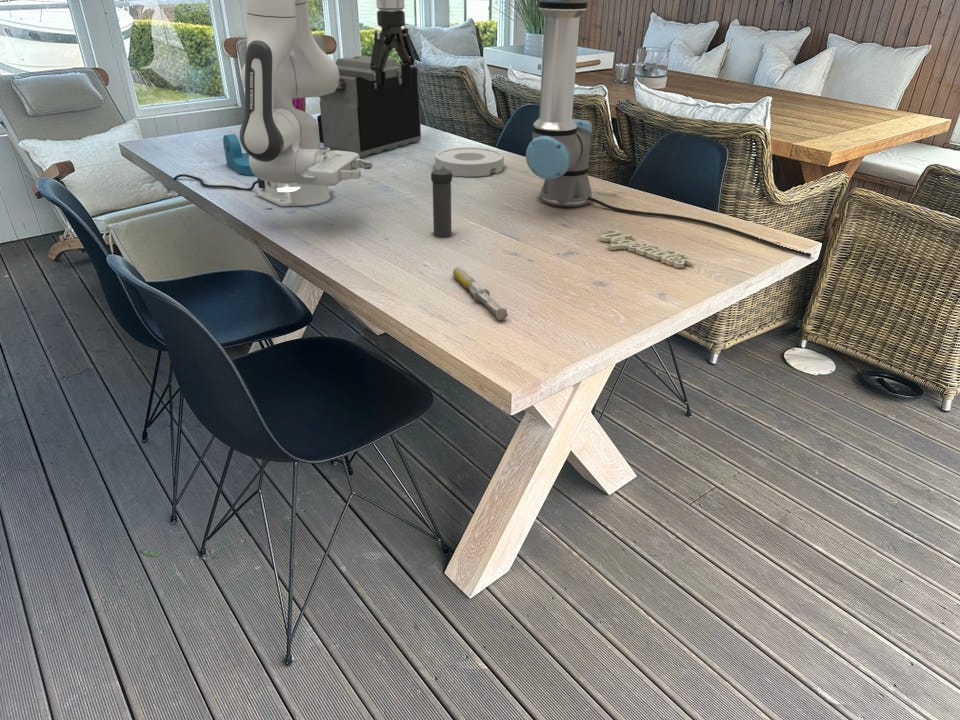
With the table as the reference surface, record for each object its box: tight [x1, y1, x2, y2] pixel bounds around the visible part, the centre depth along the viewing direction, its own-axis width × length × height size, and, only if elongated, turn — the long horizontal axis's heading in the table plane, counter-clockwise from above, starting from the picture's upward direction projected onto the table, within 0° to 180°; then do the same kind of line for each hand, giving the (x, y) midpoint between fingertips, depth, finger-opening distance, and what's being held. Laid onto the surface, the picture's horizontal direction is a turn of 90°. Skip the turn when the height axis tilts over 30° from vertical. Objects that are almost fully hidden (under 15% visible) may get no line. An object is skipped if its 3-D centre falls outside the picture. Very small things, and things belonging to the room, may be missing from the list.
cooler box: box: [316, 55, 422, 159], centre depth 250 cm, size 37×22×30 cm, turn 144°
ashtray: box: [434, 146, 505, 178], centre depth 232 cm, size 23×23×4 cm
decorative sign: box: [600, 229, 691, 269], centre depth 168 cm, size 26×1×10 cm
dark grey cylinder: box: [431, 181, 452, 238], centre depth 173 cm, size 5×5×16 cm
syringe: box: [452, 266, 509, 321], centre depth 145 cm, size 25×4×3 cm, turn 21°
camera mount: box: [222, 133, 255, 176], centre depth 226 cm, size 18×10×10 cm, turn 35°
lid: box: [430, 169, 453, 184], centre depth 170 cm, size 5×5×2 cm
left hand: (365, 169), depth 172 cm, fingers open, 8 cm apart
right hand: (394, 93), depth 197 cm, fingers open, 13 cm apart
